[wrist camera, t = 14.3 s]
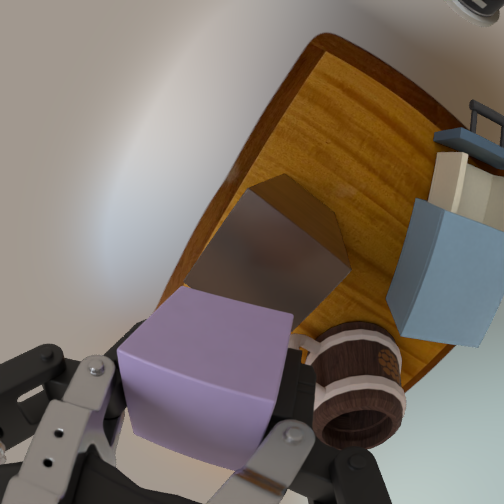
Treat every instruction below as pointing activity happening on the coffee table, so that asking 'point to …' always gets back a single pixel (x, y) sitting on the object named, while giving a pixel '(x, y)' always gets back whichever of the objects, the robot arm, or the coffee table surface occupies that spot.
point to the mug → (355, 384)
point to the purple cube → (205, 375)
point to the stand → (274, 251)
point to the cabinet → (447, 277)
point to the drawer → (470, 172)
